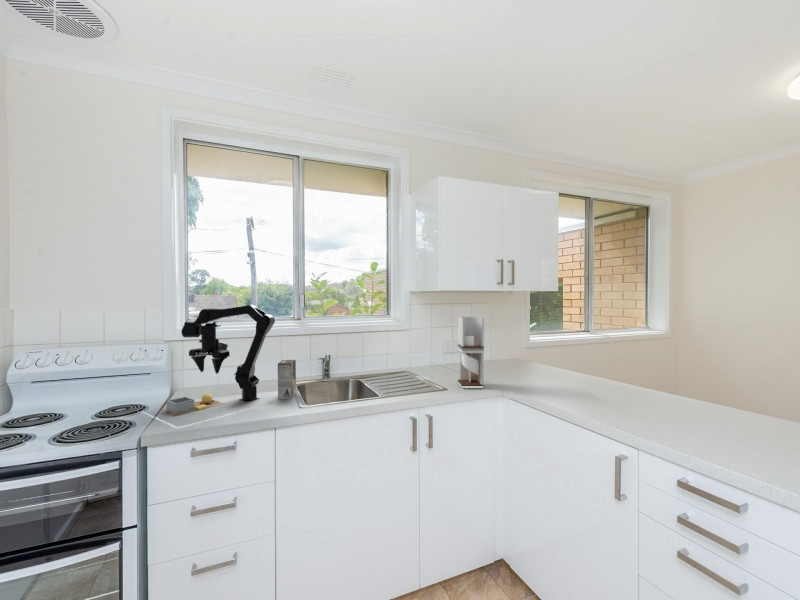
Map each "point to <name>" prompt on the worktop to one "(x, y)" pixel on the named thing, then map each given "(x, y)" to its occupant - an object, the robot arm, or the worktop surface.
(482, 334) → the display case
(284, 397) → the coffee box
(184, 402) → the grey open box
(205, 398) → the ball
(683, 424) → the worktop surface
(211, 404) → the rack board
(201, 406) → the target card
